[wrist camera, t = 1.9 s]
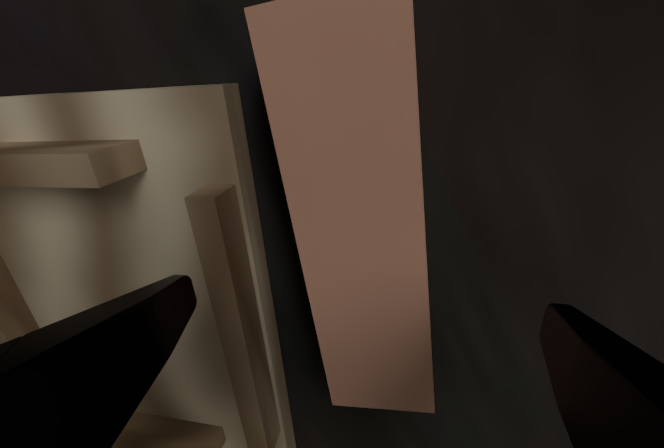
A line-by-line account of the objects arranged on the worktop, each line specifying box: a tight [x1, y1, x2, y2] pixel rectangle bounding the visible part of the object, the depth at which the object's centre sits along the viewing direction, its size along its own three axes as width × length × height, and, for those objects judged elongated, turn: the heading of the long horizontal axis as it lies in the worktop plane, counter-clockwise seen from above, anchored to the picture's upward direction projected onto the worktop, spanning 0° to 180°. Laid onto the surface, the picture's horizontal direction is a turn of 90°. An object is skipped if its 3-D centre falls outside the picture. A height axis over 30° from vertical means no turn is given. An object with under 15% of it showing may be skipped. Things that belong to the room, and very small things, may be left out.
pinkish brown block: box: [244, 0, 435, 413], centre depth 12 cm, size 4×14×4 cm, turn 9°
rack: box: [0, 83, 296, 448], centre depth 17 cm, size 16×22×4 cm
